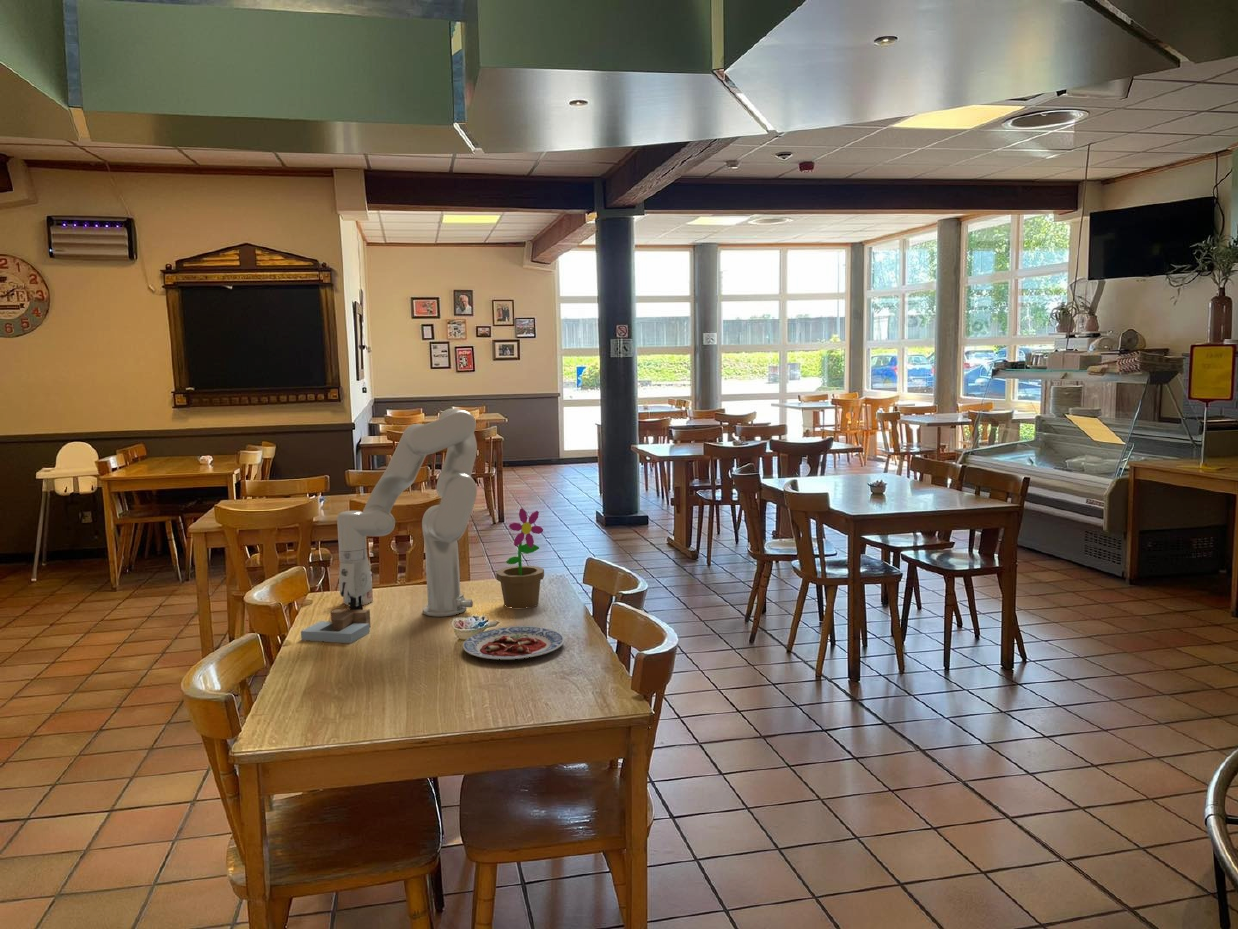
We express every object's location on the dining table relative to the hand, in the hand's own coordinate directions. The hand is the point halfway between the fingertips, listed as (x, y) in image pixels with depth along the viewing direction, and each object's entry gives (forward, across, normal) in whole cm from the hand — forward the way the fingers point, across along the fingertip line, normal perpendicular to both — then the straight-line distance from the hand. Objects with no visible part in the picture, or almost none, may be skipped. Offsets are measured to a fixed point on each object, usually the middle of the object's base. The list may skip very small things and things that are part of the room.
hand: (356, 618), depth 255 cm
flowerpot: (+2, +28, -39) cm, 48 cm away
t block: (+2, -7, -1) cm, 8 cm away
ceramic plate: (+2, -12, -52) cm, 54 cm away
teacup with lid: (+2, +22, +13) cm, 26 cm away
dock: (+2, -10, 0) cm, 10 cm away
